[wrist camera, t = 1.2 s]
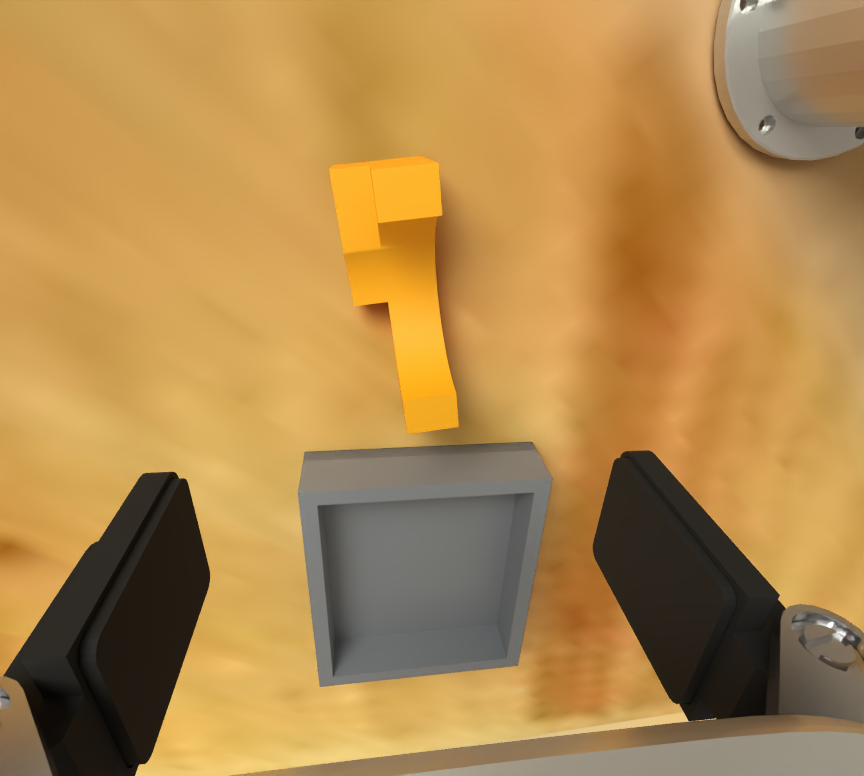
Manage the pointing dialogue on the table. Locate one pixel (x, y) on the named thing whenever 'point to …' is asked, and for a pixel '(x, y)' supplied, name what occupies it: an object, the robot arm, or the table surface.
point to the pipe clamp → (400, 273)
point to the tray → (420, 557)
